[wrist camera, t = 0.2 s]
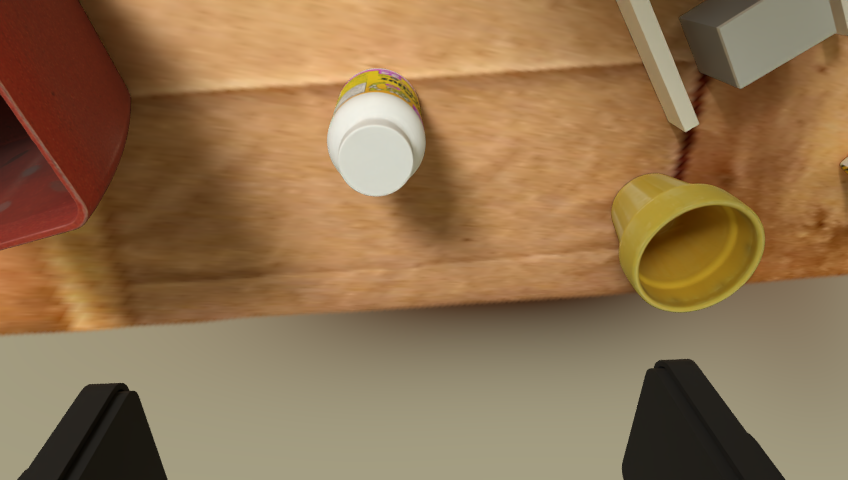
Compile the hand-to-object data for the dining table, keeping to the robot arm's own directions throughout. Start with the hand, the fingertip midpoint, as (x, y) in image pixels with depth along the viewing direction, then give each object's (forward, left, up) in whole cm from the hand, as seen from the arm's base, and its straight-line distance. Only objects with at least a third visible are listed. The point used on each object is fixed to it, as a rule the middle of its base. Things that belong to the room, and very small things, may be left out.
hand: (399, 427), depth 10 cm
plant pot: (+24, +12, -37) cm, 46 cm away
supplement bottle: (+3, -3, -37) cm, 37 cm away
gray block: (+13, +24, -37) cm, 46 cm away
